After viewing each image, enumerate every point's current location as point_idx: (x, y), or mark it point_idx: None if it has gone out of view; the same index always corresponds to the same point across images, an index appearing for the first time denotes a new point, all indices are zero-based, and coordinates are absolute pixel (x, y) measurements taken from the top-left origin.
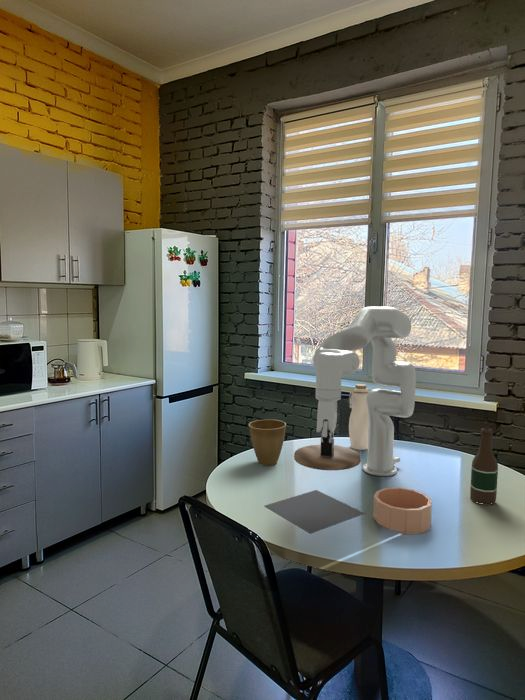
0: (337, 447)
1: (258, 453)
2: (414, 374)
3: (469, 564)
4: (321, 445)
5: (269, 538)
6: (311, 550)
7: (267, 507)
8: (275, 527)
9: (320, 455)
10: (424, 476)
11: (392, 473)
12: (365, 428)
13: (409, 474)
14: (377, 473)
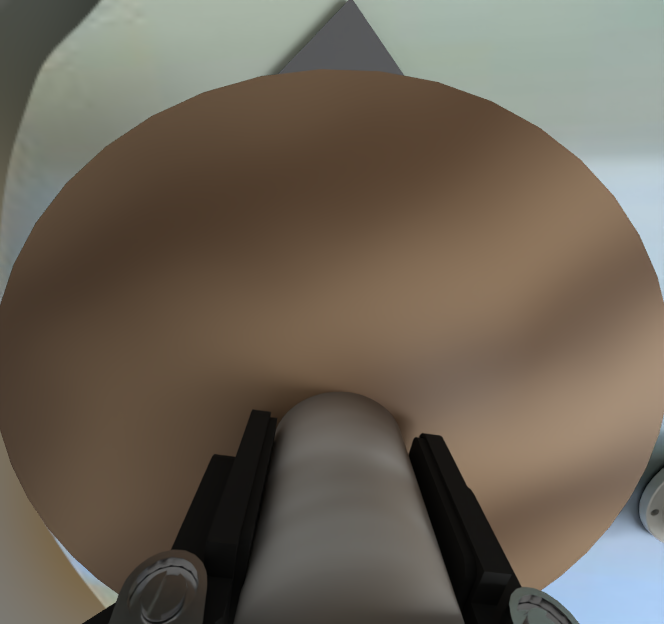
0: (550, 531)
1: None
2: None
3: (96, 593)
4: (223, 500)
5: (56, 59)
6: (24, 236)
7: (332, 21)
8: (160, 82)
9: (309, 390)
10: (617, 597)
11: (648, 530)
12: None
13: (641, 566)
14: (655, 489)
